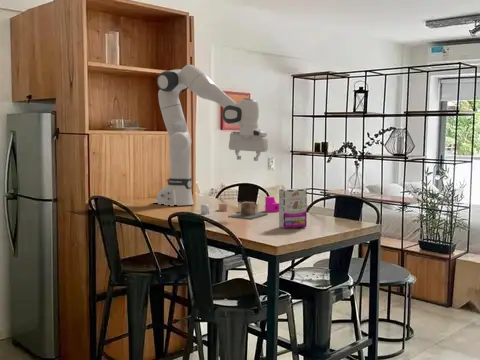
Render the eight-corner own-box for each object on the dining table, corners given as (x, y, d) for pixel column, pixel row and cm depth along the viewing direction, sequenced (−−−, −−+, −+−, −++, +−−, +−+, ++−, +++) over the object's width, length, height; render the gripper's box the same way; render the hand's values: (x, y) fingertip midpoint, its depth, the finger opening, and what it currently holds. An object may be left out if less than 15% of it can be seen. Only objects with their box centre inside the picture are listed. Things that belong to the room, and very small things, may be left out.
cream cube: (238, 212, 274) (238, 204, 274) (243, 211, 277) (244, 204, 276) (244, 213, 271) (244, 205, 271) (249, 212, 274) (249, 204, 274)
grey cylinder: (199, 215, 263) (199, 205, 263) (203, 214, 266) (203, 204, 266) (206, 215, 261) (206, 205, 261) (210, 214, 265) (210, 204, 264)
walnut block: (241, 215, 259) (241, 202, 259) (245, 213, 264) (246, 201, 263) (250, 215, 257) (250, 203, 257) (255, 214, 262) (255, 202, 261)
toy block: (273, 212, 276) (273, 198, 275) (265, 211, 281) (265, 196, 280) (294, 210, 285) (295, 196, 284) (286, 209, 290) (286, 195, 289)
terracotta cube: (218, 211, 275) (219, 204, 275) (219, 210, 279) (219, 203, 279) (226, 212, 275) (226, 204, 275) (227, 210, 279) (227, 203, 279)
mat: (228, 217, 255) (228, 216, 255) (245, 213, 271) (245, 211, 271) (250, 220, 250) (250, 218, 250) (267, 215, 266) (267, 213, 266)
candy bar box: (300, 225, 236) (301, 188, 235) (306, 227, 231) (307, 189, 230) (277, 227, 232) (278, 188, 230) (283, 229, 227) (284, 190, 226)
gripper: (227, 130, 268) (225, 158, 269) (264, 132, 258) (262, 161, 259) (233, 131, 273) (232, 158, 274) (270, 133, 263) (268, 161, 265)
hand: (247, 160), depth 267 cm, fingers open, 8 cm apart
